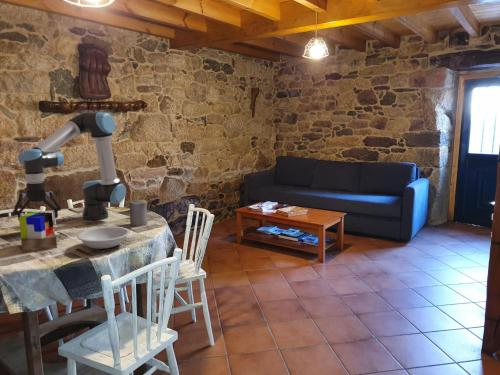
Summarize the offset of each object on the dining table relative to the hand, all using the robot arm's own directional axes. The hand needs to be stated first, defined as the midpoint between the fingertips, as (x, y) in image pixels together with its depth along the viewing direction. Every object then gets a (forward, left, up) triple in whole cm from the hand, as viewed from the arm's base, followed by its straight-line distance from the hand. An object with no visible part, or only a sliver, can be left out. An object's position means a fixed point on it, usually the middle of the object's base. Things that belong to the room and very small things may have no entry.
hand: (39, 225), depth 185 cm
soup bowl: (-29, +12, -10) cm, 33 cm away
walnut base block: (+1, +1, -10) cm, 10 cm away
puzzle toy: (+1, +1, -4) cm, 5 cm away
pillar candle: (-48, -23, -10) cm, 54 cm away
